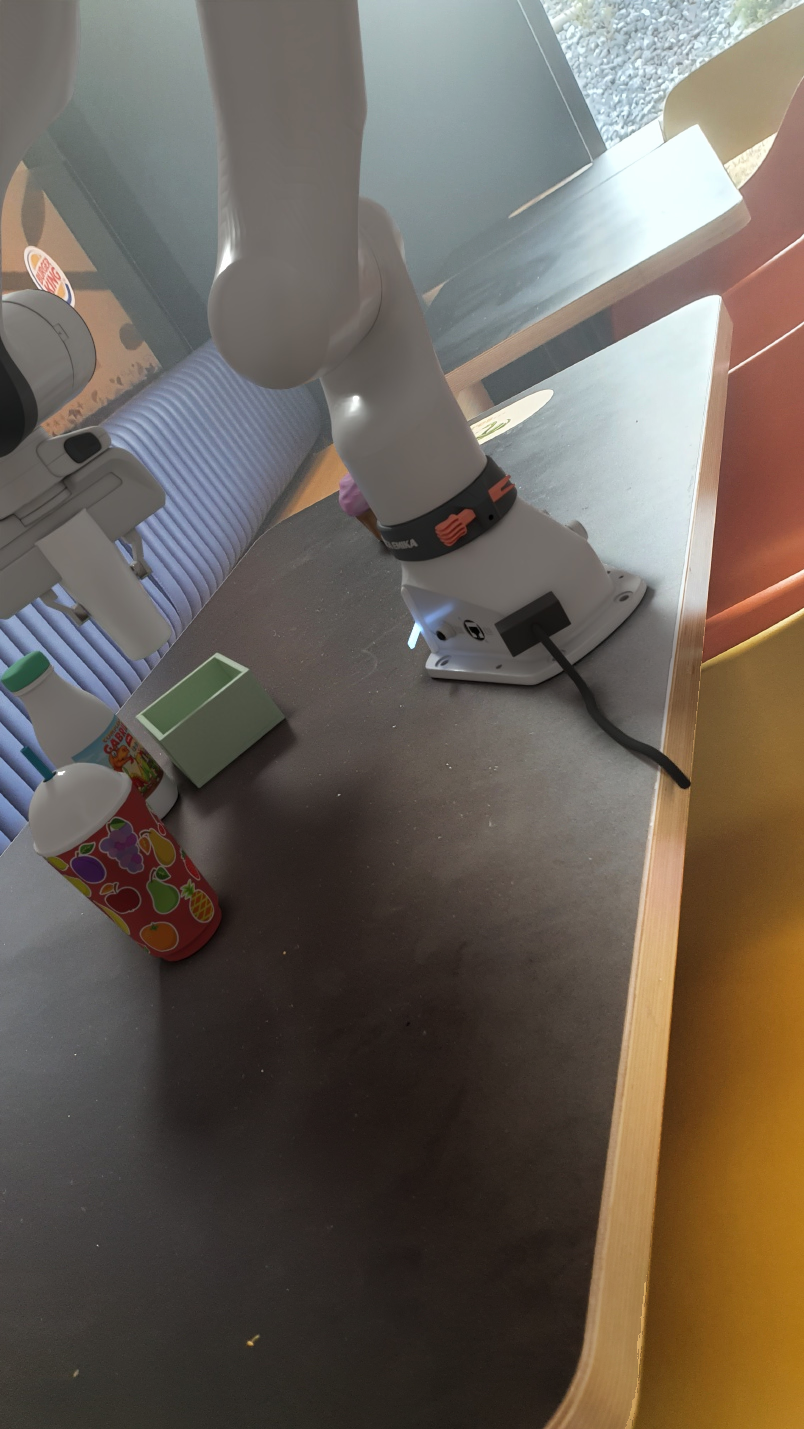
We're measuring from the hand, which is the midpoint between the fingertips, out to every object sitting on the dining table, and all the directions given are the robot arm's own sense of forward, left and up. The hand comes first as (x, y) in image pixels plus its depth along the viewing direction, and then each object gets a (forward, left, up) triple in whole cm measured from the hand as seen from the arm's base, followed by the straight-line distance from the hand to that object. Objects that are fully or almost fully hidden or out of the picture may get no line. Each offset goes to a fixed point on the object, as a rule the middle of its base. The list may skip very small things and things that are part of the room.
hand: (115, 598), depth 96 cm
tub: (0, 0, -19) cm, 19 cm away
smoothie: (-28, +14, -19) cm, 37 cm away
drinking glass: (0, 0, -6) cm, 6 cm away
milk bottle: (-2, +11, -19) cm, 22 cm away
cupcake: (+21, -37, -19) cm, 47 cm away
